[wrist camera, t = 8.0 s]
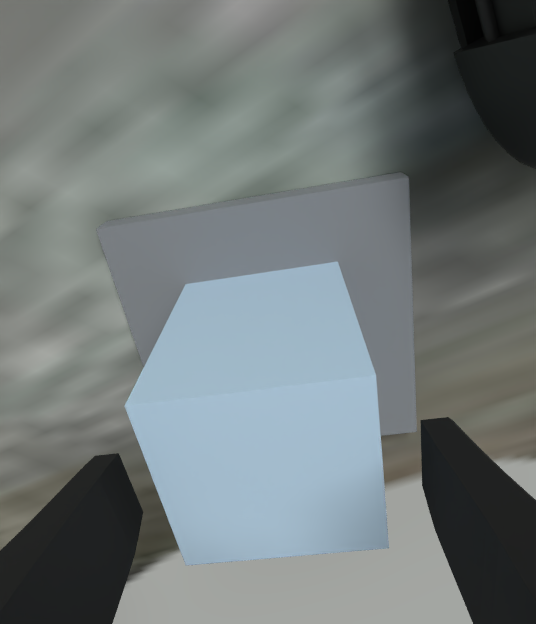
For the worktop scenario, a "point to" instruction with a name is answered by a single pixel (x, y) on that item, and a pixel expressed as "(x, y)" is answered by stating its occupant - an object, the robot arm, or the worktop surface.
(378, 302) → the board
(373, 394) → the pale blue cube
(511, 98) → the end cap
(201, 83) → the worktop surface
